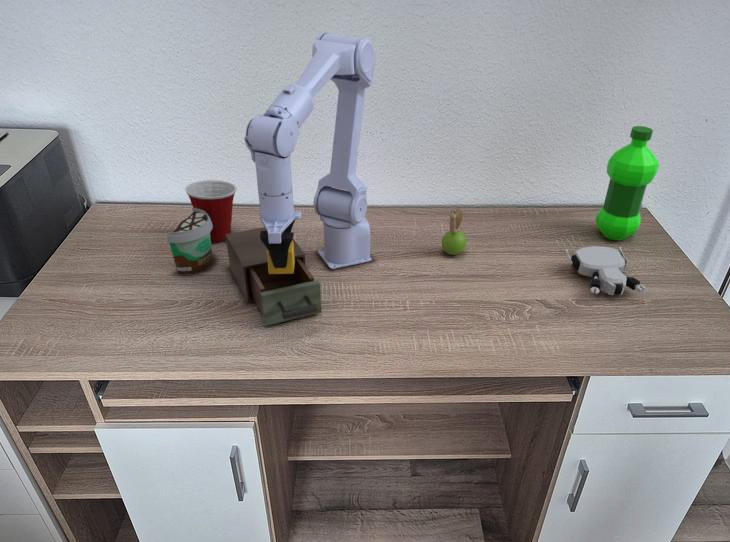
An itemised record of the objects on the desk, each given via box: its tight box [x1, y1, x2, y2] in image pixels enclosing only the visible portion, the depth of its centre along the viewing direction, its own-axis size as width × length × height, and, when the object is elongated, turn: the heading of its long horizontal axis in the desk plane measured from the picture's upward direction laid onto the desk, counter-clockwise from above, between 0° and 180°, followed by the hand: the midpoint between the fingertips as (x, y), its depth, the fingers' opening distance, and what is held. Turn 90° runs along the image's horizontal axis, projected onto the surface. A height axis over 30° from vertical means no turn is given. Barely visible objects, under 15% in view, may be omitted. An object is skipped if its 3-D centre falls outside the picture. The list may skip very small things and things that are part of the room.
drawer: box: [247, 258, 322, 327], centre depth 115 cm, size 18×11×6 cm, turn 25°
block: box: [267, 241, 295, 274], centre depth 111 cm, size 4×4×4 cm
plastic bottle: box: [595, 125, 660, 241], centre depth 138 cm, size 10×10×25 cm
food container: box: [166, 207, 213, 275], centre depth 127 cm, size 12×6×10 cm, turn 168°
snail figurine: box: [440, 208, 468, 256], centre depth 133 cm, size 5×6×12 cm
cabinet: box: [225, 226, 307, 304], centre depth 124 cm, size 14×12×8 cm
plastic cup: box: [184, 179, 237, 244], centre depth 137 cm, size 11×11×12 cm
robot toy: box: [565, 245, 646, 296], centre depth 127 cm, size 12×4×15 cm
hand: (281, 260), depth 112 cm, fingers closed on block, 4 cm apart
